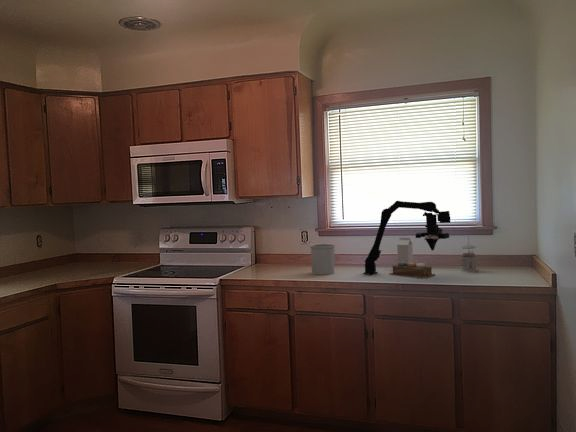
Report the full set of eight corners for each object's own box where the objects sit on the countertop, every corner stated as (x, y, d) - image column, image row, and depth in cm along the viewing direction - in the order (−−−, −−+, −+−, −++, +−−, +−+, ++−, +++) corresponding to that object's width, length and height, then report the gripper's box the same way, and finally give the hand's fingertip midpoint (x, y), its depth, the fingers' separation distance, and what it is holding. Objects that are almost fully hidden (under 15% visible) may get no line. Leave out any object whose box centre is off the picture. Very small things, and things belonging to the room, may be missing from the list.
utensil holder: (340, 272, 297) (339, 243, 296) (325, 276, 286) (324, 246, 285) (321, 270, 307) (320, 242, 306) (306, 273, 296) (305, 245, 295)
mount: (424, 278, 266) (423, 269, 266) (389, 274, 283) (388, 266, 283) (435, 275, 275) (435, 266, 274) (400, 271, 291) (400, 263, 291)
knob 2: (422, 274, 271) (422, 265, 270) (414, 273, 274) (414, 264, 274) (427, 273, 274) (427, 263, 274) (419, 272, 278) (419, 263, 278)
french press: (475, 268, 290) (474, 227, 289) (481, 272, 279) (480, 228, 277) (458, 269, 291) (457, 227, 290) (463, 272, 280) (462, 229, 278)
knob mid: (413, 273, 275) (413, 264, 275) (405, 272, 279) (405, 263, 279) (418, 272, 279) (418, 262, 278) (410, 271, 282) (410, 262, 282)
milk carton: (408, 269, 298) (407, 238, 297) (397, 268, 302) (396, 238, 301) (413, 267, 303) (412, 237, 302) (402, 266, 308) (401, 237, 307)
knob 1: (404, 272, 279) (404, 263, 279) (396, 271, 283) (396, 262, 283) (409, 271, 283) (409, 262, 283) (401, 270, 287) (401, 261, 286)
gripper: (453, 222, 277) (454, 249, 278) (424, 222, 291) (425, 248, 291) (443, 224, 269) (444, 251, 270) (414, 223, 283) (415, 250, 284)
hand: (432, 250), depth 279 cm, fingers closed
